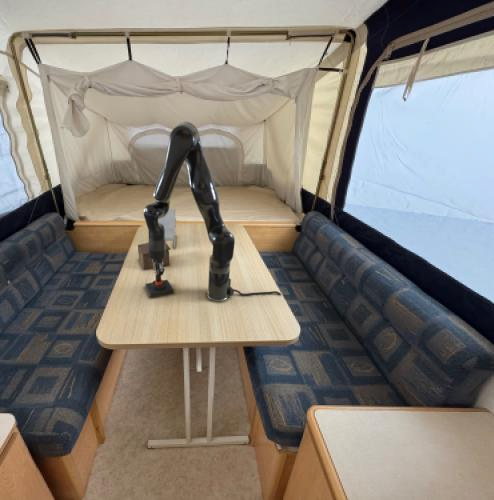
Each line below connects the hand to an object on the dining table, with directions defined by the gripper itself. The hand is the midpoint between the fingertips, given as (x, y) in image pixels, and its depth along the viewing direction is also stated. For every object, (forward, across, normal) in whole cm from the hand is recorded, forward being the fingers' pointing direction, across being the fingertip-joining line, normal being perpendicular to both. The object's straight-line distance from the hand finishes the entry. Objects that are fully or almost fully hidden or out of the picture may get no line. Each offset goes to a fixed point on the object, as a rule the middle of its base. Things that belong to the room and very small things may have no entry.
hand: (158, 280), depth 124 cm
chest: (+5, +28, -6) cm, 29 cm away
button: (+2, 0, 0) cm, 2 cm away
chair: (+6, +54, -21) cm, 58 cm away
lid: (-4, +28, -6) cm, 29 cm away
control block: (+6, 0, 0) cm, 6 cm away
